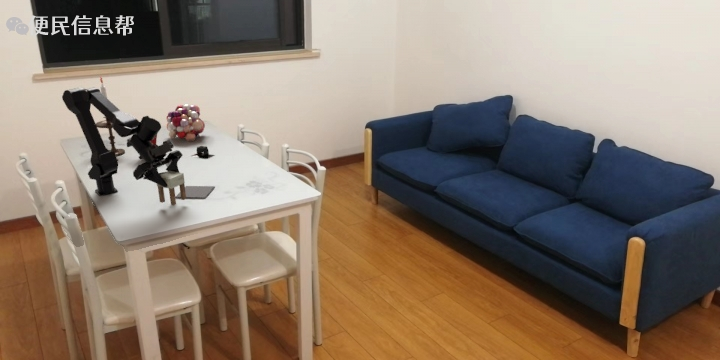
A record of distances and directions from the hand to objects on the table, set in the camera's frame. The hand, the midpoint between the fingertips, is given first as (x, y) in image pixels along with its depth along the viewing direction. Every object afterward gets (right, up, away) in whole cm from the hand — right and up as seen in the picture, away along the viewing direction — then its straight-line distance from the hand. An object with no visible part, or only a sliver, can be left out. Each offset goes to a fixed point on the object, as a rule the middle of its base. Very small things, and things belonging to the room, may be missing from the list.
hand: (173, 183), depth 193 cm
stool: (-1, -6, +3) cm, 7 cm away
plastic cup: (-29, +11, +56) cm, 64 cm away
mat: (+3, -4, +15) cm, 16 cm away
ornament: (-21, +21, +84) cm, 89 cm away
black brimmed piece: (-6, +11, +57) cm, 59 cm away
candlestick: (-47, +13, +62) cm, 79 cm away
